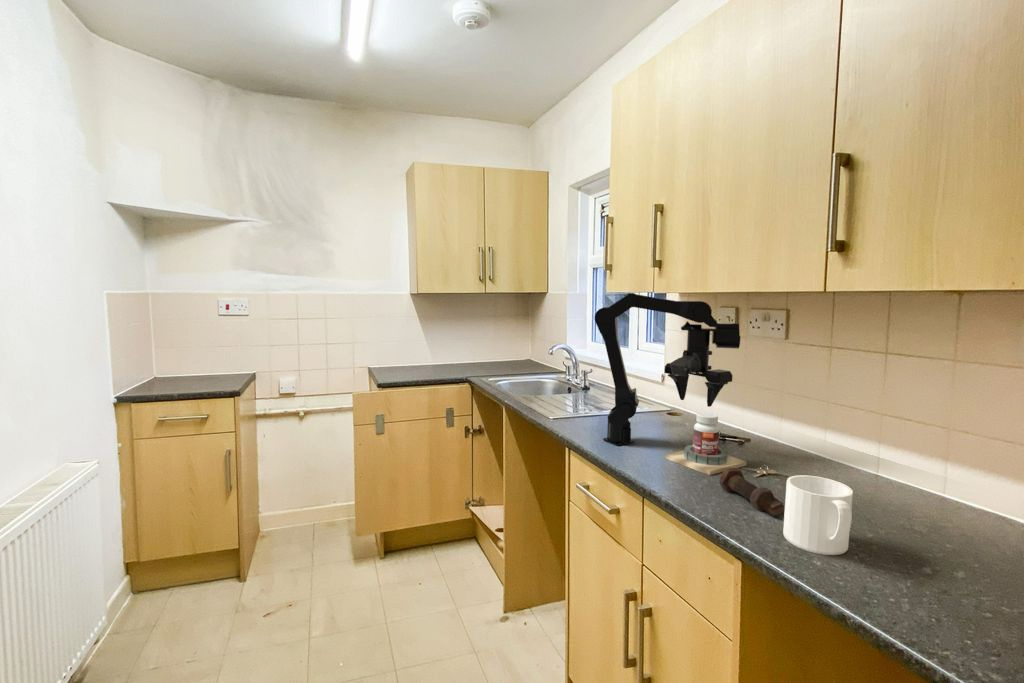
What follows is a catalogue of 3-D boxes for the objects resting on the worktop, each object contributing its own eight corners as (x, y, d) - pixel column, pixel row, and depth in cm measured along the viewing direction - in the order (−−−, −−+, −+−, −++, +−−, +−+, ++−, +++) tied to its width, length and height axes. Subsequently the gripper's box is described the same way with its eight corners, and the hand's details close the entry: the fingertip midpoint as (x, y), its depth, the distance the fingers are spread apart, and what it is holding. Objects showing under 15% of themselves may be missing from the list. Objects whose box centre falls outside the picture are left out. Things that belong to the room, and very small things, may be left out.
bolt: (773, 527, 101) (725, 495, 115) (793, 513, 101) (743, 483, 116) (762, 504, 99) (715, 474, 114) (783, 490, 100) (733, 462, 114)
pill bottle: (702, 462, 129) (705, 418, 128) (687, 455, 135) (689, 412, 134) (722, 460, 131) (725, 417, 130) (707, 453, 137) (709, 411, 135)
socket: (665, 458, 135) (665, 447, 135) (701, 450, 142) (701, 439, 142) (709, 475, 123) (710, 463, 123) (746, 465, 130) (747, 454, 130)
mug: (772, 528, 96) (775, 475, 95) (824, 527, 97) (828, 475, 96) (813, 564, 84) (818, 503, 83) (873, 563, 84) (878, 503, 83)
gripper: (651, 345, 144) (649, 399, 146) (706, 352, 128) (703, 413, 130) (679, 343, 150) (676, 395, 152) (735, 350, 134) (732, 408, 136)
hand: (695, 403), depth 142 cm, fingers open, 9 cm apart
